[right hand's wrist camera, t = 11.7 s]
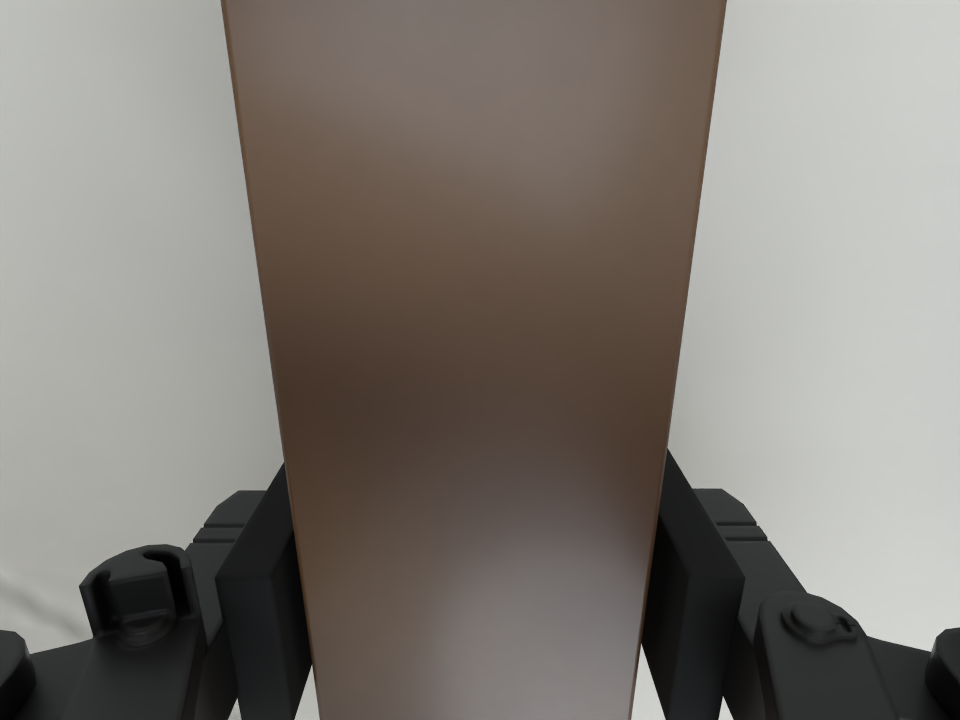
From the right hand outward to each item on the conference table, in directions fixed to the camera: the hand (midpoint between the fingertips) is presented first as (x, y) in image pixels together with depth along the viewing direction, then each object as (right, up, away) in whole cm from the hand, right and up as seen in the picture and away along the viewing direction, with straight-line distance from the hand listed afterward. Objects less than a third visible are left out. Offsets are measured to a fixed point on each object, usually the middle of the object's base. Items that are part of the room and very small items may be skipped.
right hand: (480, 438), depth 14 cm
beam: (0, +25, -8) cm, 26 cm away
